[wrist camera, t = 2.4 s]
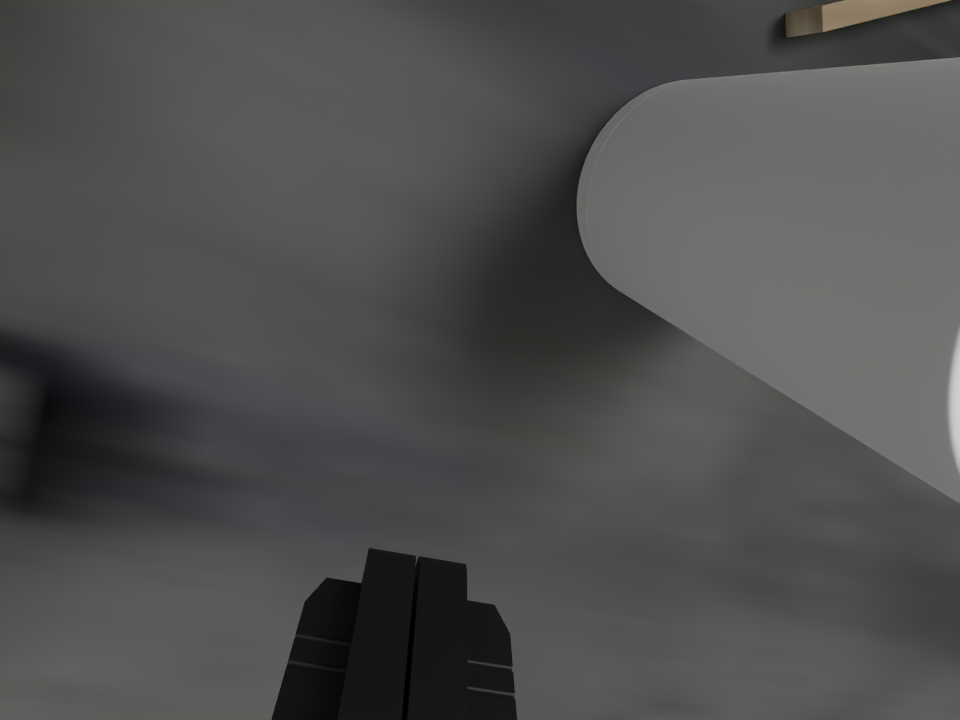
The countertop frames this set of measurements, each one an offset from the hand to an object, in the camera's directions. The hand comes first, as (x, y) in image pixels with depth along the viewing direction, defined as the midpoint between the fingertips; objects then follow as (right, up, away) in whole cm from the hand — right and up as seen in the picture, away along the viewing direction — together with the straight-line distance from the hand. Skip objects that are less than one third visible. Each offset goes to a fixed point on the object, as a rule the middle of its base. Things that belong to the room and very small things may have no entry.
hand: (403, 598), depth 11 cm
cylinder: (+13, +13, +29) cm, 34 cm away
